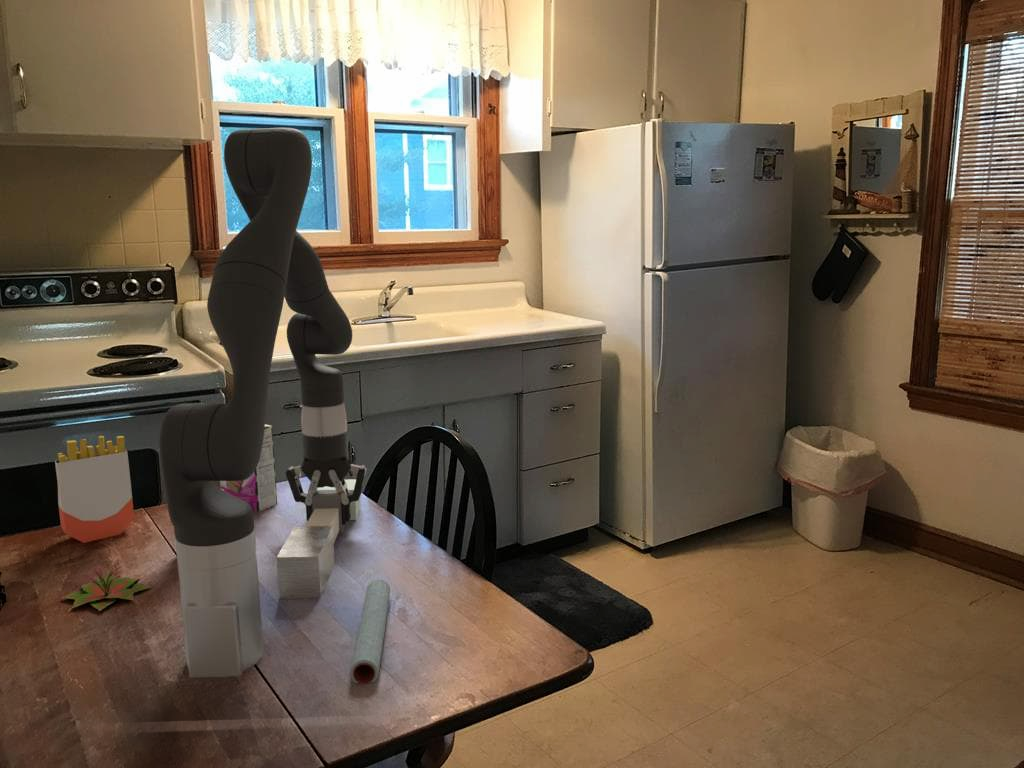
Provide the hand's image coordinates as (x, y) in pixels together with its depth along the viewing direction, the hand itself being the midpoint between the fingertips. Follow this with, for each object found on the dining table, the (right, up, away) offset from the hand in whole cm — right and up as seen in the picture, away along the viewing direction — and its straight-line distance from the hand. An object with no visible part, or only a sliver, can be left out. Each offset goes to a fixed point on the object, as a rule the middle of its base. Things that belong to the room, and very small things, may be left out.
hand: (329, 523), depth 145 cm
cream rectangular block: (+1, -6, -18) cm, 19 cm away
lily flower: (-28, -7, -22) cm, 36 cm away
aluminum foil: (+12, -10, -35) cm, 38 cm away
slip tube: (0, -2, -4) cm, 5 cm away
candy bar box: (-19, +1, +14) cm, 23 cm away
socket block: (0, 0, +8) cm, 8 cm away
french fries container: (-40, -2, 0) cm, 40 cm away
